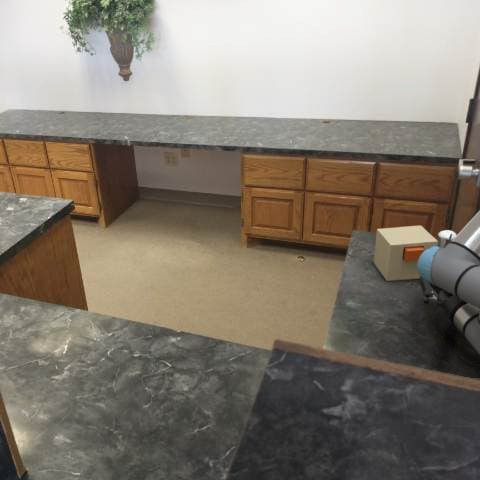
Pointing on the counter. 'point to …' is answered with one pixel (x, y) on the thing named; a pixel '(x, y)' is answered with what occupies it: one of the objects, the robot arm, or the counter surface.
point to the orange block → (412, 253)
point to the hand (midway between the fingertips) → (421, 261)
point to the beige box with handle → (400, 251)
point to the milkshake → (445, 238)
